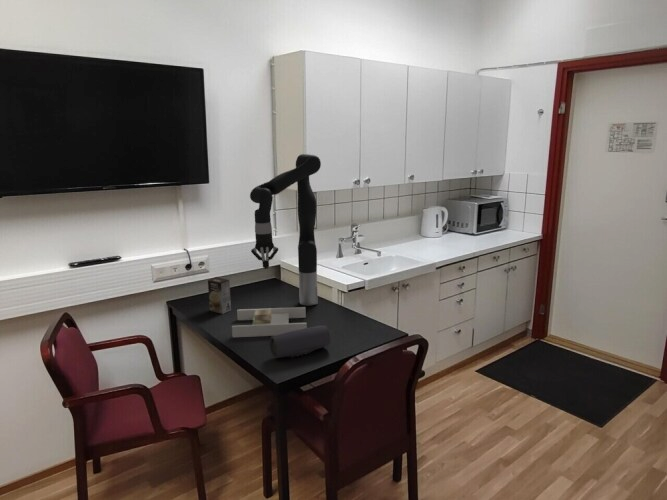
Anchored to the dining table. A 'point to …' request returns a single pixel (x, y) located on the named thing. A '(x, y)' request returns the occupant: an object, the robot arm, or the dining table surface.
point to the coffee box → (219, 295)
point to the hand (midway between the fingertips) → (266, 268)
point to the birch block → (262, 316)
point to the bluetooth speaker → (299, 341)
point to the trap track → (269, 329)
